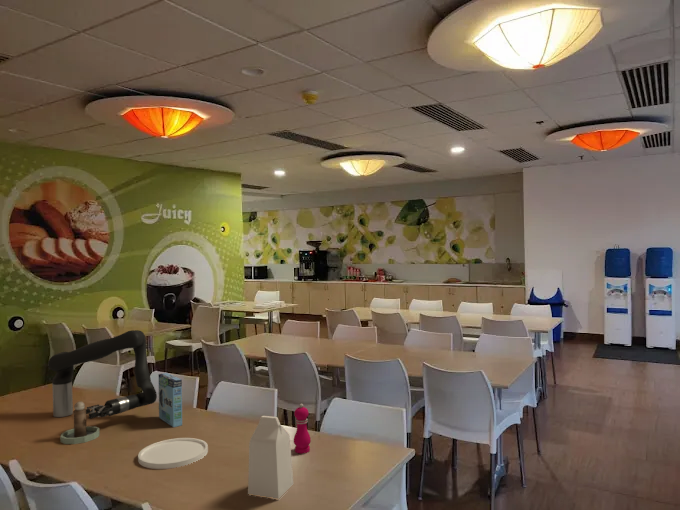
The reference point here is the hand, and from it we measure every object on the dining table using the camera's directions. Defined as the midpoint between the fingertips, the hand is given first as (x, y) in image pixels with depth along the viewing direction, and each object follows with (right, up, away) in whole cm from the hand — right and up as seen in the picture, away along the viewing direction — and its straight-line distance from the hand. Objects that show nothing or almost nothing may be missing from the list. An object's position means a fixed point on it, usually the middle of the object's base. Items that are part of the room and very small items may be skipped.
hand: (84, 414), depth 239 cm
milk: (+96, -8, -59) cm, 113 cm away
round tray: (-1, -10, -2) cm, 10 cm away
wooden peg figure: (-1, -9, -2) cm, 9 cm away
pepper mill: (+104, -8, -24) cm, 107 cm away
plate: (+50, -10, -25) cm, 57 cm away
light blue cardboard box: (+35, -9, +18) cm, 40 cm away
